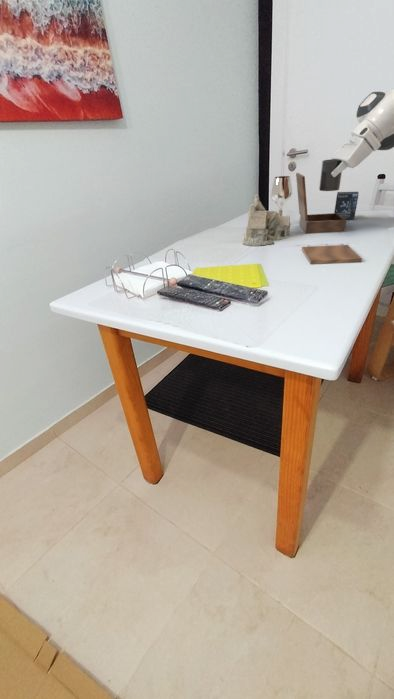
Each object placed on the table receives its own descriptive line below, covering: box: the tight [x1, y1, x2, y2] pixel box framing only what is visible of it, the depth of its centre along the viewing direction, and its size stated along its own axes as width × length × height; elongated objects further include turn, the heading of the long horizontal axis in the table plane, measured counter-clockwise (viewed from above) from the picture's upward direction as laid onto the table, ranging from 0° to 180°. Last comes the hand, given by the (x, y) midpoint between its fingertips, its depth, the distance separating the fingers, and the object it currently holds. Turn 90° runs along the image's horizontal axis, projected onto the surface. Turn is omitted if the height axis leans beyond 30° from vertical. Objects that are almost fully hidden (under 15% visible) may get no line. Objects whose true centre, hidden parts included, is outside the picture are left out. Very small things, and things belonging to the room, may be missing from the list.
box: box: [333, 191, 360, 221], centre depth 134 cm, size 8×6×11 cm
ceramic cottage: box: [242, 194, 292, 247], centre depth 117 cm, size 16×16×15 cm
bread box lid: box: [295, 172, 309, 221], centre depth 120 cm, size 14×13×1 cm
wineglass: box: [270, 175, 293, 210], centre depth 131 cm, size 8×8×18 cm
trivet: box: [301, 244, 363, 265], centre depth 101 cm, size 14×14×1 cm
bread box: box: [299, 212, 347, 235], centre depth 125 cm, size 14×13×5 cm
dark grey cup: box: [318, 159, 343, 192], centre depth 114 cm, size 6×6×9 cm
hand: (329, 174), depth 114 cm, fingers closed on dark grey cup, 6 cm apart
